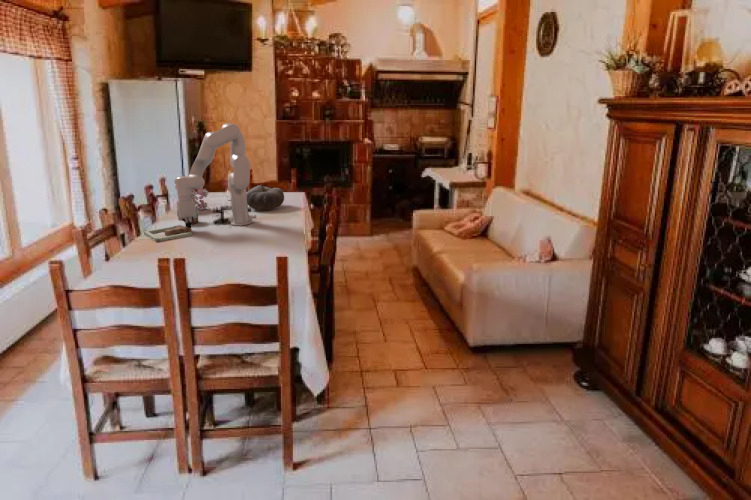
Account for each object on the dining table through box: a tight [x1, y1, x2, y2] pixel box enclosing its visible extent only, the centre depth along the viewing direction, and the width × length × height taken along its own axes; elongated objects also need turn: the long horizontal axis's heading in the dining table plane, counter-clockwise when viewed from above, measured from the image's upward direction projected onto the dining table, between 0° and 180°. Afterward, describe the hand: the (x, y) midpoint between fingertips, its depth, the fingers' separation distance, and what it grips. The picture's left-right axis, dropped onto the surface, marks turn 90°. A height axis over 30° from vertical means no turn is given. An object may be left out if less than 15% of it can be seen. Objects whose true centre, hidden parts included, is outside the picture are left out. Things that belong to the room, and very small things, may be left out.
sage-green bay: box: [143, 225, 193, 242], centre depth 314 cm, size 20×23×2 cm
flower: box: [173, 178, 210, 210], centre depth 370 cm, size 20×22×24 cm
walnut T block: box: [164, 224, 193, 237], centre depth 316 cm, size 12×13×3 cm
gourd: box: [246, 184, 285, 212], centre depth 372 cm, size 25×25×17 cm
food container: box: [187, 204, 200, 225], centre depth 339 cm, size 12×6×10 cm, turn 168°
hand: (188, 228), depth 321 cm, fingers closed
